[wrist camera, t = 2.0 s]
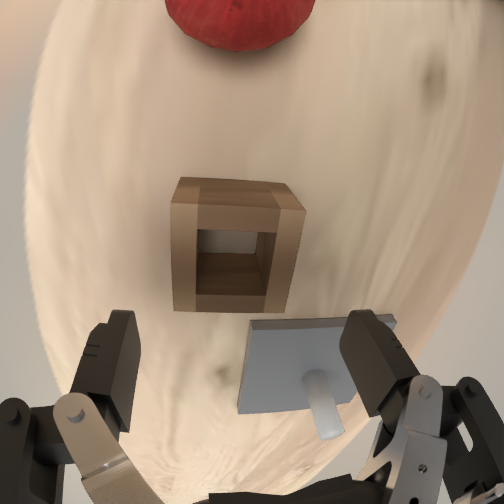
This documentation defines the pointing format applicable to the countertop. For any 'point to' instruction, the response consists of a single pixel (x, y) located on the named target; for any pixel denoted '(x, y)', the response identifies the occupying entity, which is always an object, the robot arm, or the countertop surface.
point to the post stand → (298, 370)
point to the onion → (239, 21)
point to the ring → (234, 265)
